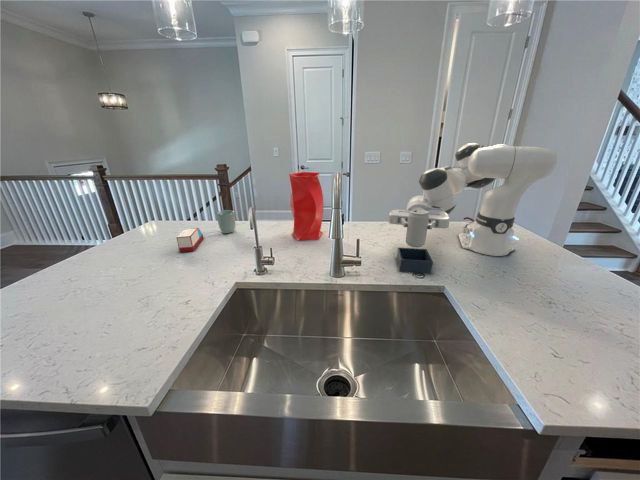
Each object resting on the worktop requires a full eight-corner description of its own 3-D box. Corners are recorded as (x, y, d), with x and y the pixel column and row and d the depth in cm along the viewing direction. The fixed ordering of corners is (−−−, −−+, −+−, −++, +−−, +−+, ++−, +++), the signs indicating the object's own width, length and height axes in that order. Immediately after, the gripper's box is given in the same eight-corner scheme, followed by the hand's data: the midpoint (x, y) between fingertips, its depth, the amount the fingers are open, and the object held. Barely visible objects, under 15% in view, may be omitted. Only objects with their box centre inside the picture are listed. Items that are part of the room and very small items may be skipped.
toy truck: (203, 237, 120) (200, 224, 117) (193, 251, 106) (190, 236, 103) (191, 238, 119) (188, 225, 117) (179, 252, 105) (175, 237, 103)
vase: (313, 228, 130) (312, 171, 119) (330, 236, 119) (330, 174, 108) (286, 234, 122) (282, 174, 112) (301, 244, 111) (298, 178, 100)
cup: (216, 234, 124) (213, 214, 120) (225, 228, 131) (221, 209, 127) (232, 235, 123) (228, 214, 119) (239, 229, 130) (236, 210, 126)
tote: (396, 258, 98) (397, 247, 96) (424, 260, 96) (426, 249, 94) (399, 271, 88) (401, 259, 86) (431, 273, 87) (433, 261, 85)
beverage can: (410, 239, 94) (414, 207, 89) (428, 244, 90) (433, 210, 85) (401, 244, 90) (405, 211, 85) (419, 249, 86) (424, 215, 81)
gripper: (390, 204, 100) (386, 214, 88) (448, 208, 94) (452, 219, 82) (389, 219, 103) (385, 231, 91) (445, 224, 96) (449, 238, 84)
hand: (417, 226), depth 86 cm, fingers closed on beverage can, 6 cm apart
